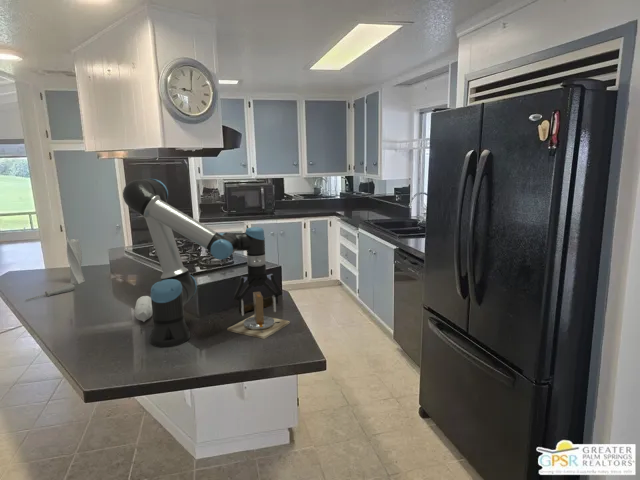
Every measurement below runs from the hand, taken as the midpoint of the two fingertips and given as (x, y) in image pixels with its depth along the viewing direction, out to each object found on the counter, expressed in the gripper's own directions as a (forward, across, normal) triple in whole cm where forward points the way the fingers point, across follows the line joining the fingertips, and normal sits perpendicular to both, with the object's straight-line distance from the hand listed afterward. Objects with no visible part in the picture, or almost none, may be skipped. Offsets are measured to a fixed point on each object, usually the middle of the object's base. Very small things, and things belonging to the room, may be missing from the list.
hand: (258, 312), depth 183 cm
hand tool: (+7, +2, +24) cm, 26 cm away
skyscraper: (+6, -95, +106) cm, 142 cm away
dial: (+5, 0, 0) cm, 5 cm away
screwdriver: (+6, -102, +82) cm, 131 cm away
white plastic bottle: (+7, -48, +28) cm, 56 cm away
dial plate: (+6, 0, 0) cm, 6 cm away
